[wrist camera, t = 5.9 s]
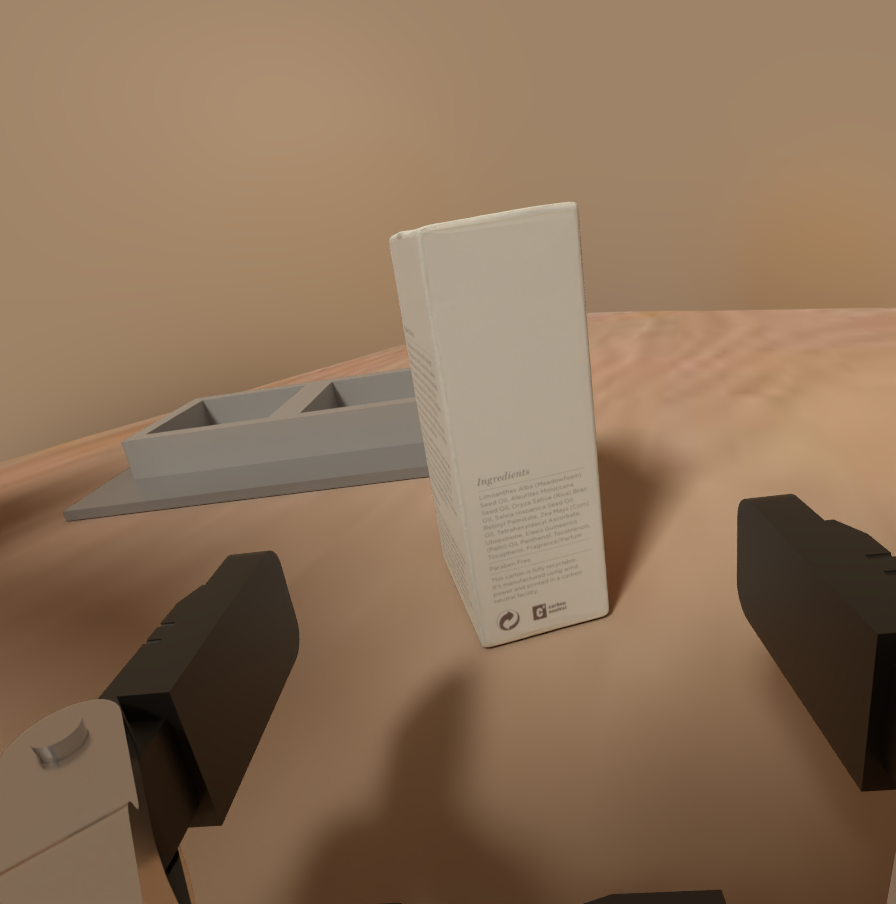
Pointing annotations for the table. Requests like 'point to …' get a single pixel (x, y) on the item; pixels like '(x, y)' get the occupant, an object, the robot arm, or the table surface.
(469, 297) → the skincare box
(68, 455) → the table surface
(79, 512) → the tray
